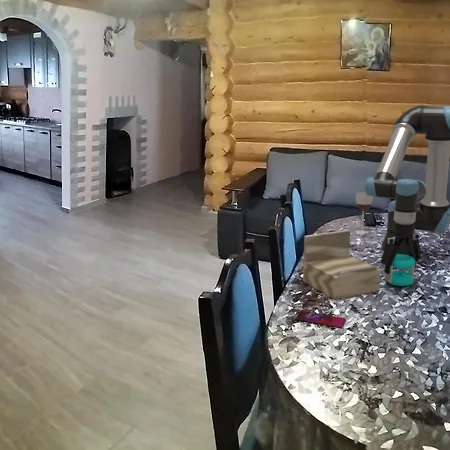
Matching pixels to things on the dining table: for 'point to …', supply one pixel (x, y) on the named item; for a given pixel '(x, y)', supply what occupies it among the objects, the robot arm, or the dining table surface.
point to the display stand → (337, 266)
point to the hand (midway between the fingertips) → (399, 279)
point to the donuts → (399, 276)
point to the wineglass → (363, 206)
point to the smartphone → (320, 319)
